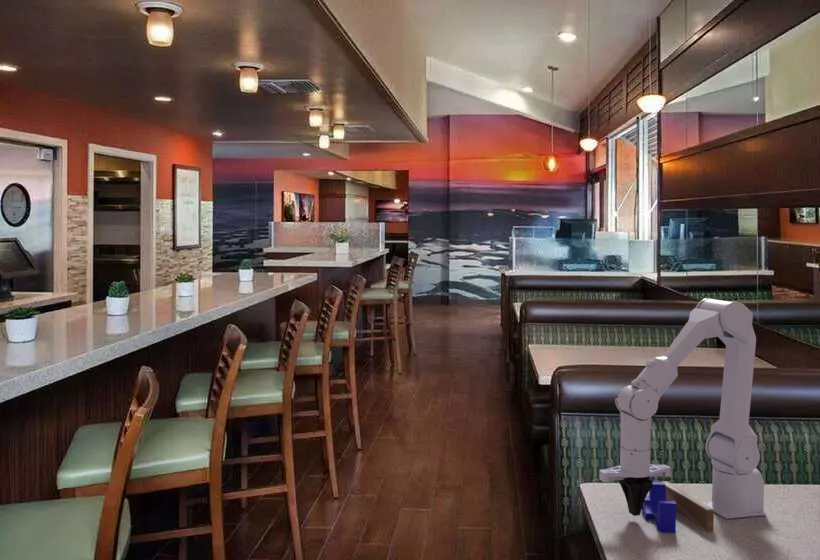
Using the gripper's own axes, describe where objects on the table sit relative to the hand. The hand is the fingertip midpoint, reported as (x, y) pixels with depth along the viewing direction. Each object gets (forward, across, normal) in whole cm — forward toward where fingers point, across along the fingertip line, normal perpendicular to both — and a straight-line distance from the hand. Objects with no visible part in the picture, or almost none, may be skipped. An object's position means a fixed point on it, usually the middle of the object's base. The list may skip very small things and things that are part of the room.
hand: (634, 513), depth 144 cm
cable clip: (+2, -5, +1) cm, 5 cm away
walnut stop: (+1, -12, 0) cm, 12 cm away
